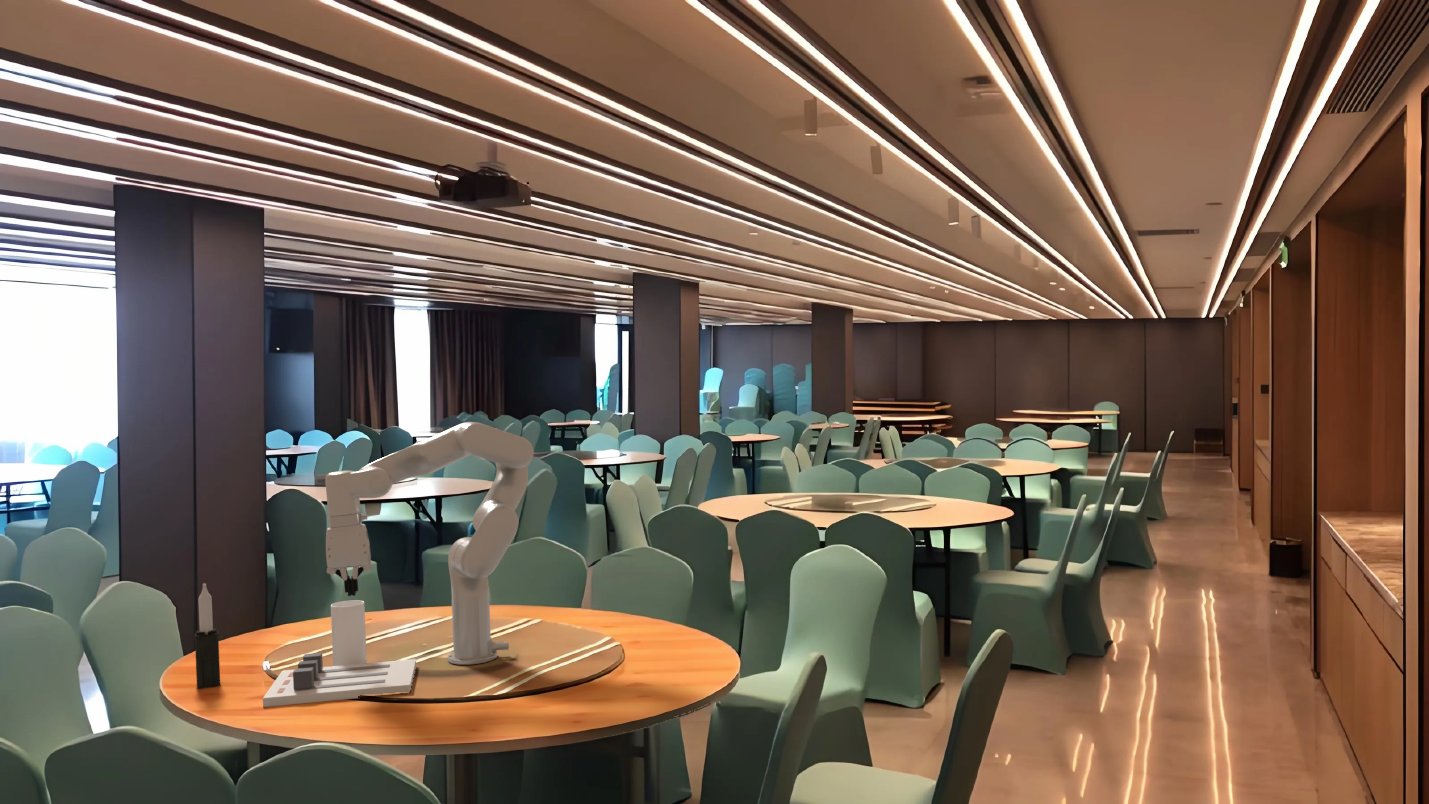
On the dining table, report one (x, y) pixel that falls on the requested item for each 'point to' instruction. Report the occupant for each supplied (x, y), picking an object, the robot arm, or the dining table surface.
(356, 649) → the cup
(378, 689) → the switch panel
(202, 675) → the black and grey marker
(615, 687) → the dining table surface
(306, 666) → the handle
